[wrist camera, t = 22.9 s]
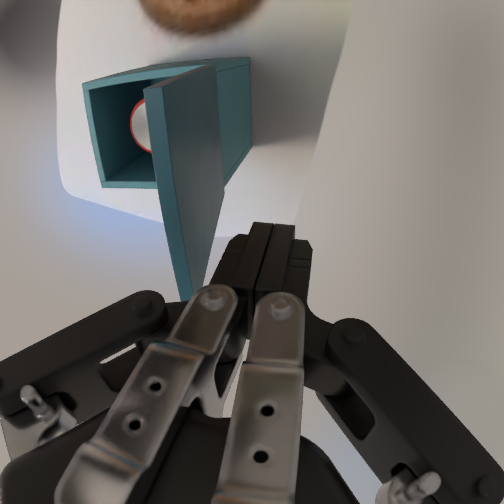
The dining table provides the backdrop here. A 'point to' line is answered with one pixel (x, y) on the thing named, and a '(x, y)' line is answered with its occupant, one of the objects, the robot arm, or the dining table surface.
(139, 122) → the can
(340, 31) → the dining table surface
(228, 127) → the teal open box
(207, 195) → the teal box lid
